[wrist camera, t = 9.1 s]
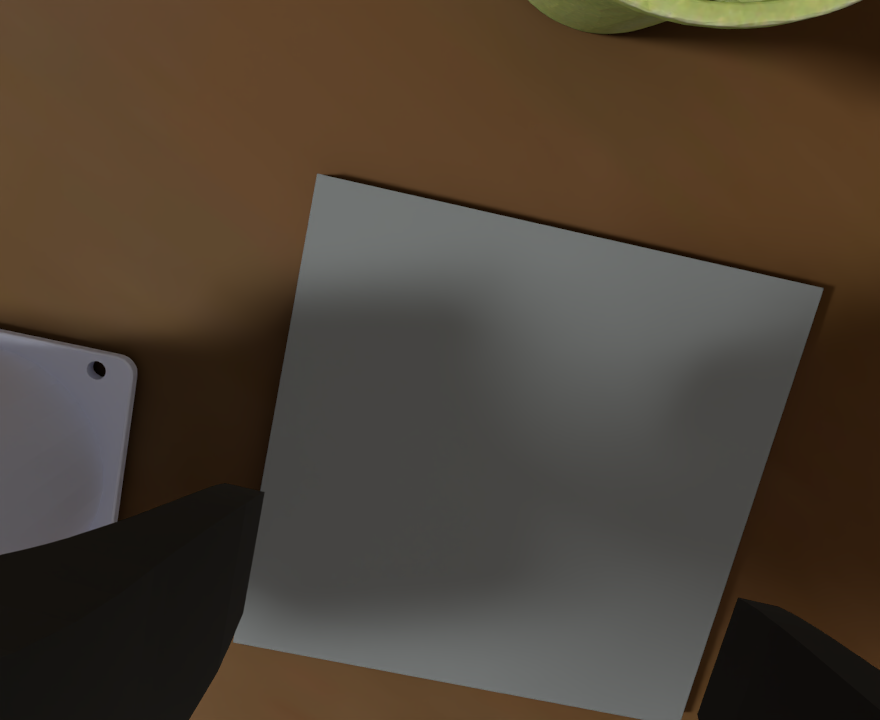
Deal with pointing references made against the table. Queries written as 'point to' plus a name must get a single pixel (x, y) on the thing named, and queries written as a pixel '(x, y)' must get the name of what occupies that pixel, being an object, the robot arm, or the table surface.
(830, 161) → the table surface
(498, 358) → the mat
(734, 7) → the plant pot
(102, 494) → the robot arm
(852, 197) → the table surface
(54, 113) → the table surface
